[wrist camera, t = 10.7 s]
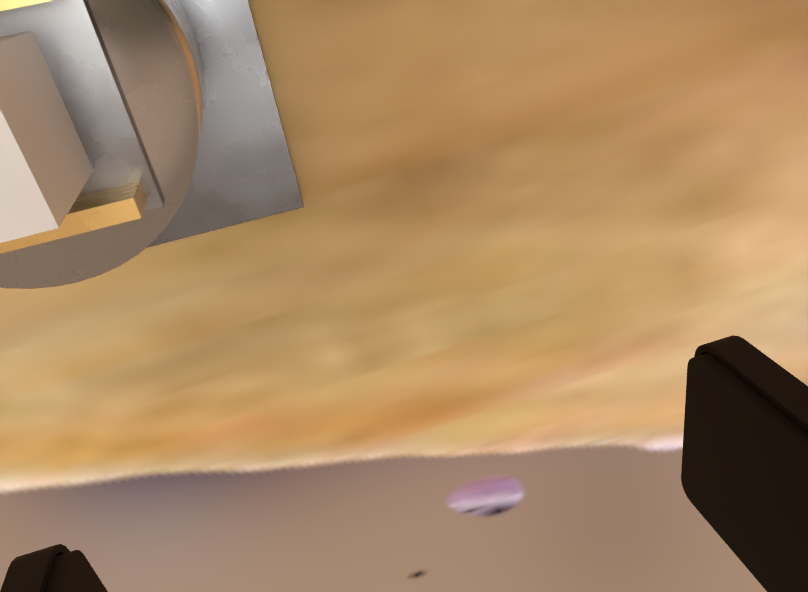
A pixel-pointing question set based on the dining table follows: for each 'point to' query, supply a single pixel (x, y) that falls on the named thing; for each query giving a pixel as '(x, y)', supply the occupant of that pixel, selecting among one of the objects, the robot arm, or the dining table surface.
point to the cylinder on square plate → (153, 129)
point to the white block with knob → (35, 144)
